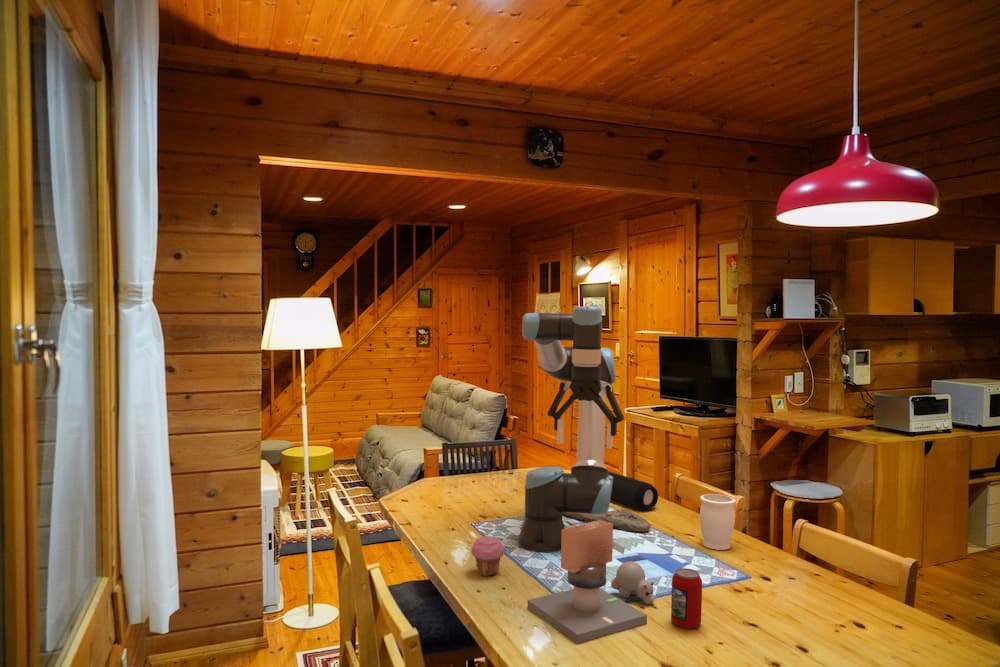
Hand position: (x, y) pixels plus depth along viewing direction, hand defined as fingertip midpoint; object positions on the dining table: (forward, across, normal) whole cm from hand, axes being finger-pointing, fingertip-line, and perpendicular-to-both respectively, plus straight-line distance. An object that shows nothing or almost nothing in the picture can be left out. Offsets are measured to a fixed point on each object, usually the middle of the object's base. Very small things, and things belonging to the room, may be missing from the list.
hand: (584, 445), depth 178 cm
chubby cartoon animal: (+37, -15, +3) cm, 40 cm away
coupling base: (+37, -7, +18) cm, 42 cm away
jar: (+37, -29, -47) cm, 66 cm away
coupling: (+28, -7, +18) cm, 34 cm away
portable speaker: (+37, +8, -80) cm, 89 cm away
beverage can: (+37, -29, +12) cm, 48 cm away
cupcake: (+37, +25, +5) cm, 45 cm away
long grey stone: (+37, +10, -54) cm, 66 cm away
